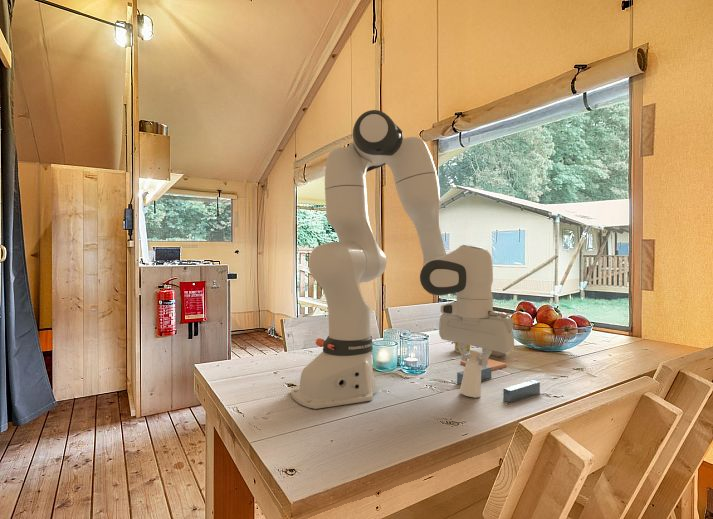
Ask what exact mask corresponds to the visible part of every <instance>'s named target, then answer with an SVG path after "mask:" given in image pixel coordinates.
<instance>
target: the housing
mask: <svg viewBox="0 0 713 519" xmlns="http://www.w3.org/2000/svg"><path fill="white" fill-rule="evenodd" d="M456 374H457V375H456V382H457V384H458V385H461V383H462V379H463V374H464V370H462V371H458V372H456ZM491 378H492V371H491V367H488V366H483V367H481V381H484V380H487V379H488V380H489V379H491ZM540 391H541V383H540V381H538V380H535V379H532V380H528V381H524V382H521V383H518V384H514V385H510V386H508V387H503V391H502V392H503V393H502V395H503V398H502V399H503V400H502V401H503V402H506V403H509V404H512V403H515V402H518V401H521V400H525V399H528V398H530V397H534V396H538V395H540V394H541V392H540Z"/></svg>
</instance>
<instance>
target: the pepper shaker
mask: <svg viewBox="0 0 713 519" xmlns="http://www.w3.org/2000/svg"><path fill="white" fill-rule="evenodd" d="M469 354H470V357H469V359H467V362H466V366H465V365H464V366H465V367H464V370H463V371H464V374H463V379H462V383H461V384H460V388H459V393H460V394H461V395H463V396H465V397H470V398H481V397H482V395H481V394H482V380H481V365H479V358H480V357H481V355H482V351H479V350H475V349H470V352H469Z"/></svg>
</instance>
